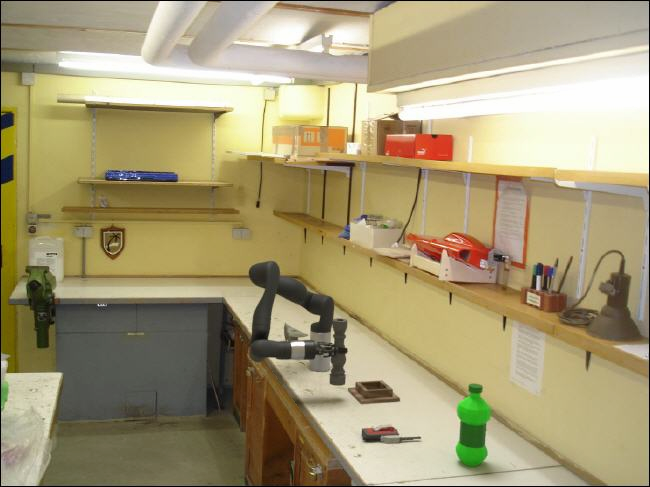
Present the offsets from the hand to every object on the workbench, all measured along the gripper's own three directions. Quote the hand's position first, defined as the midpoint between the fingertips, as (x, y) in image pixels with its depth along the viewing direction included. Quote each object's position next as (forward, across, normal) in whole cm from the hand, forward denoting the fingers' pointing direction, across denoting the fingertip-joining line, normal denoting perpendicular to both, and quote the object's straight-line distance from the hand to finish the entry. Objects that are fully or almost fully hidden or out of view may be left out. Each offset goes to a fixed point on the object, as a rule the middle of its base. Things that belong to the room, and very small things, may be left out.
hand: (345, 349), depth 282 cm
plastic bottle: (+27, -62, +20) cm, 70 cm away
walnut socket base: (+13, +3, +20) cm, 24 cm away
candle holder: (-3, 0, +14) cm, 14 cm away
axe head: (-9, +75, +21) cm, 78 cm away
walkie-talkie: (+7, -40, +20) cm, 45 cm away
